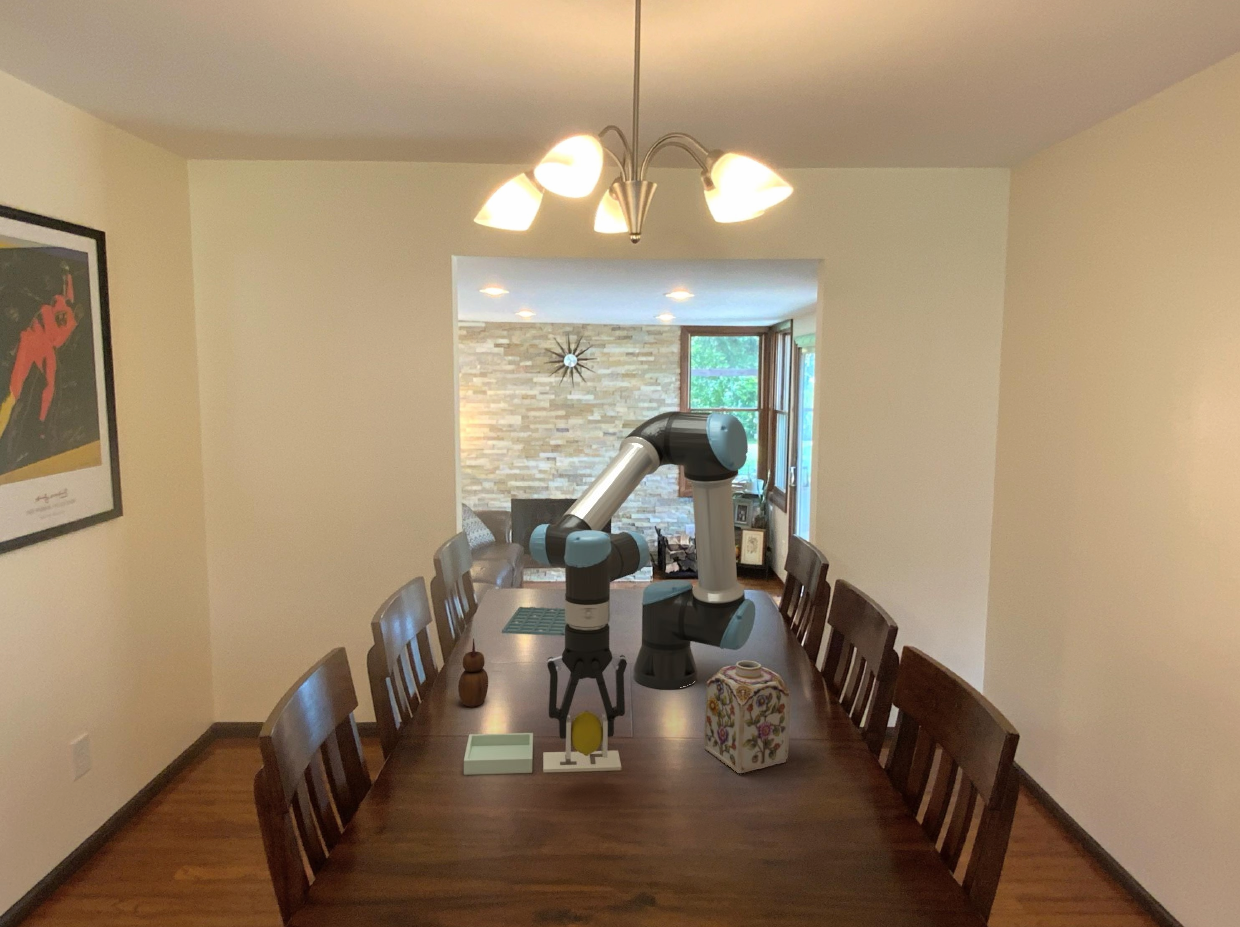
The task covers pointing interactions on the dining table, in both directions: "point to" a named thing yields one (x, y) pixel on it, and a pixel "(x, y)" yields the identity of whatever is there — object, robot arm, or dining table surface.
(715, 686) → the decorative jar
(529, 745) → the dish
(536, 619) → the calendar
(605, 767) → the tile
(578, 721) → the lemon
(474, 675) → the wooden figurine
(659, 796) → the dining table surface
